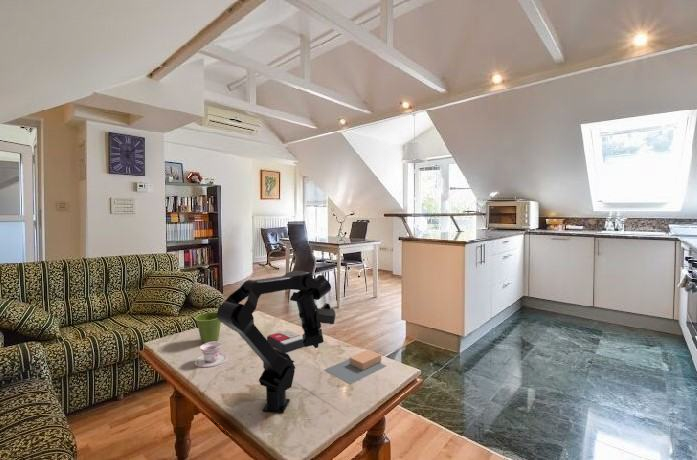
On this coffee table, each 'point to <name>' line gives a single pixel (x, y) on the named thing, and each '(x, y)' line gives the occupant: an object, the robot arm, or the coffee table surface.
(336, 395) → the coffee table surface
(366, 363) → the peach rectangular block
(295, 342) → the red and grey box
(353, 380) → the mat
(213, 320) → the plant pot
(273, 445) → the coffee table surface
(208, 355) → the teacup
